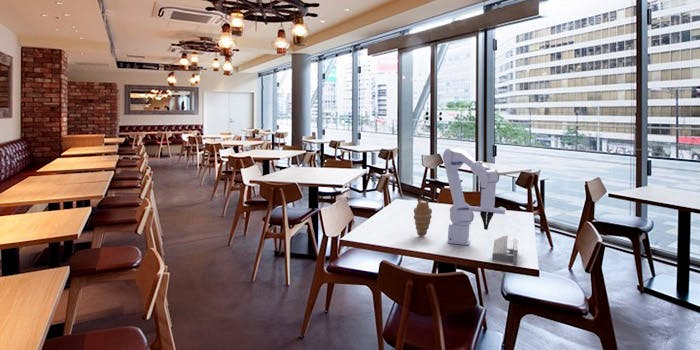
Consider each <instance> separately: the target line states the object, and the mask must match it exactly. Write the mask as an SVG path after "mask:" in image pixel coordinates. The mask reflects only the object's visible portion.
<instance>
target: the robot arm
mask: <svg viewBox="0 0 700 350" xmlns="http://www.w3.org/2000/svg"><path fill="white" fill-rule="evenodd" d="M443 151H444V152H443V154H442V161H443V164H444V165H443V166H444V168H445V172H446V177H447V181H448V185H449V190H450V195H451V198H452V203H453V204H452V206H450V208H449V220H450V221H451V222H449V224H448V230H447V232H448V234H447V244H455V245H463V246H464V245H465V246H469V245H470V242H471V239H469V238H470V225H472V224H471V223H472V222H473V221H474V220H475V219H474V218H475V215H474V212H477V213H480V214H479V216H480V217H481V220H482V222H483V230H485V231H488V229H489V225H490V222H491V220H492V218H493V216H494V214H499V215H505V214H506V209H504V208H497V207H495V202H496V186H497V183H499V181H500V173H499V171H497V169H491V168H490V167H489V166H487V165H486V164H485V163H484V162H483V161H482V160H477V161H476V160H475V159H474V158H473V157H472V156H471V155H470V154H469V152H468V150H466V149H465V148H446V149H445V150H443ZM464 164H465V165H466V166H468V167H469V168H470V171H471V172H472V173H473V174H474V175H475V176H477V177H478V179H479V182H480V188H481V192H480V206H473V205H470V204H469V203H467V202H466V200H465V195H464V193H463V192H464V191H463V187H462V184H461V179H460V174H459V169H460V168H461V167H462V166H463V165H464Z"/></svg>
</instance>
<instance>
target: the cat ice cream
mask: <svg viewBox="0 0 700 350" xmlns="http://www.w3.org/2000/svg"><path fill="white" fill-rule="evenodd" d="M429 203H430V200H425V201H423V200H421V199H417V205H416V207H415V208H414V209H413V213H414V215H413V219H414V224H415V229H416V234H417V236H420V237H424V236H426V235H427V233H428V230H429V228H430V224H431V219H432V217H433V216H432V213H433V210H432V208H431V207H430V206H429V205H430V204H429Z"/></svg>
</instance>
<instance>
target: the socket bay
mask: <svg viewBox="0 0 700 350" xmlns="http://www.w3.org/2000/svg"><path fill="white" fill-rule="evenodd" d="M512 241H513V243H512V246H513V247H512V248H509V247H507V251H510V254H501V253H493V251H494V246H493V250H492V255H491V256H492V257H491V259H492V260H495V261H503V262H512V265H515V266H516V265H517V264H518V255H519V254H518V253H519V252H518V251H519V249H518V247H519V245H518V238H513V240H512Z"/></svg>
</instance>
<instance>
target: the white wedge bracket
mask: <svg viewBox="0 0 700 350" xmlns="http://www.w3.org/2000/svg"><path fill="white" fill-rule="evenodd" d="M508 238H509V237H508V235H502V236H501V237H499V238H497V239H494V241H493V247H494V251H493V250H492V254H493V253H501V254H510V251H507V248H508Z"/></svg>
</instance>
